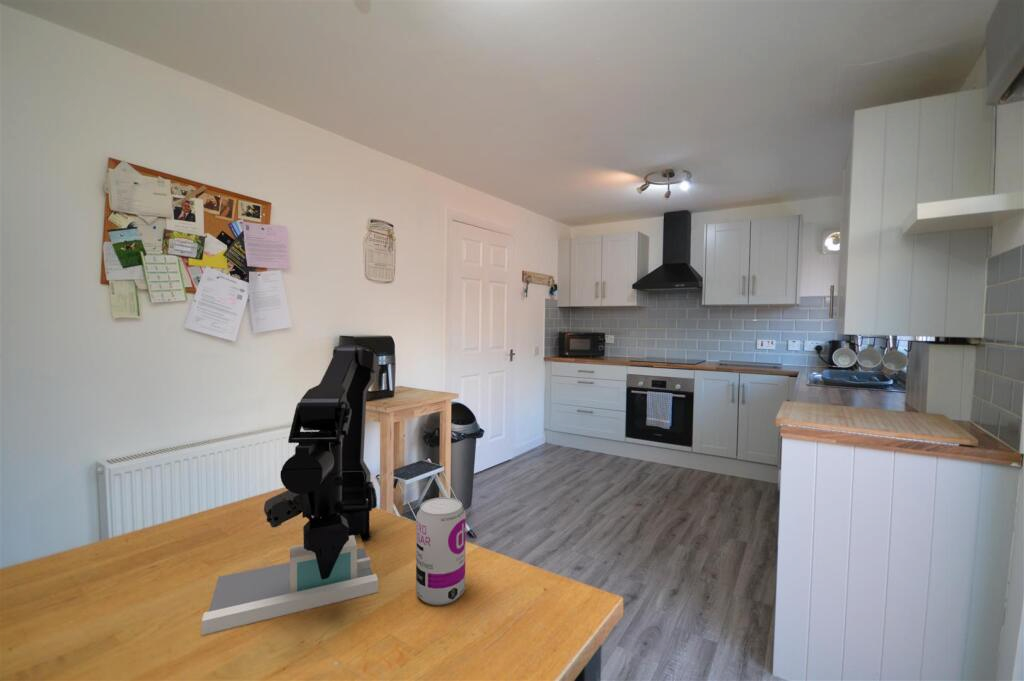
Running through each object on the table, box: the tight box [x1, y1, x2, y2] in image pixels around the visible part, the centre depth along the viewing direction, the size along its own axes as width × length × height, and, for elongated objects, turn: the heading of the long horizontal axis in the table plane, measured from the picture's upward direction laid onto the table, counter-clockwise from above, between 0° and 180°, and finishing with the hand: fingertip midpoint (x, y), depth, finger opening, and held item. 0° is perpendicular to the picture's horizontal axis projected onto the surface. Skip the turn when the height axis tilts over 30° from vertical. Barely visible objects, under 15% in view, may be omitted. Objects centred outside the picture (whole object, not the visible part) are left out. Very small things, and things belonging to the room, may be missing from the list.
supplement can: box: [415, 496, 467, 606], centre depth 75 cm, size 8×8×15 cm
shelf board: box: [201, 547, 379, 636], centre depth 75 cm, size 24×16×4 cm, turn 116°
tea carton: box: [289, 535, 358, 593], centre depth 74 cm, size 4×10×7 cm, turn 116°
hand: (323, 564), depth 74 cm, fingers open, 9 cm apart
